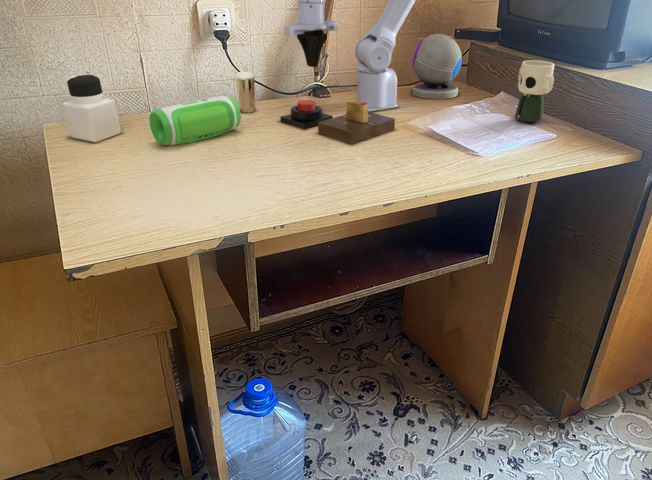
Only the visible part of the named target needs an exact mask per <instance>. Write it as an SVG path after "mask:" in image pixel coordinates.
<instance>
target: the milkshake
mask: <svg viewBox="0 0 652 480" xmlns="http://www.w3.org/2000/svg"><path fill="white" fill-rule="evenodd" d="M234 79H235V84H236V89H237V96H238V101H239V108H240V112H241V113H254V112H255V110H256V105H255V104H256V102H255V101H256V99H255V98H256V97H255V95H256V94H255V92H256V90H255V83H256V82H255V81H256V80H255V79H256V76H255V74H254V73H253V72H252V71H249V64H246V70H245V71H238V72H237V73H235V75H234Z"/></svg>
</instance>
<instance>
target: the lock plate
mask: <svg viewBox="0 0 652 480" xmlns="http://www.w3.org/2000/svg"><path fill="white" fill-rule="evenodd" d="M395 123H396V118H394V117H390V116H386V115H383V114H379V113H376V112H373V111H371V112H368V122H366V123H360V122H357V121H353V120H350V119H346V113H345V114H342V115H338V116H334V117H333V118H331V119H328V120H324V121H321V122H318V126H317V134H318V135H321V136H324V137H327V138H331V139H334V140H337V141H339V142H343V143H346V144H349V145H354V144H357V143H360V142H363V141H366V140H369V139H372V138H375V137H377V136H380V135H384V134H386V133H389V132H392V131H395V127H396V126H395V125H396V124H395Z"/></svg>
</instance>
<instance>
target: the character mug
mask: <svg viewBox="0 0 652 480" xmlns="http://www.w3.org/2000/svg"><path fill="white" fill-rule="evenodd" d="M520 66H521V67H520V68H519V70H518V71H519V72H518V77H517V80H518V83H517V88H518V91H519V92H520V93H522V94H521V96H519V101H518V103H517V107H516V111H515V115H514V118H515V119H517V120H518V117H519V121H521V122H528V123H529V122H530V123H533V122H537V121H541V120H543V115H544V100H545V99H544V96H543V95H546V94H548V93H550V92H551V91H552V90H553V87H554V82H555V77H554V71H555V63H553V62H551V61H546V60H538V59H537V60H536V59H527V60H523V61H522V63H521V65H520Z"/></svg>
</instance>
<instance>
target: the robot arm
mask: <svg viewBox="0 0 652 480" xmlns="http://www.w3.org/2000/svg"><path fill="white" fill-rule="evenodd" d="M415 3H416V0H388V2H387V4H386V6H385V7H384V8H383V9H384V10H383V11H382V13H381V15H380V16H379V19H378V20H377V22H376V24H374V25H373V26H372V27H371V28H370V29H369V30H368V32H367V33H366V35H365V36H364V37H363V38H361V39H360V40H359V41H358V42H357V43H356V46H355V51H354V52H355V53H354V54H355V57H356V59H357V61H358V62H359V64H358V66H357V87H356V90H357V94H356V101H358V102H365V103H367V104H368V112H376V111H377V112H378V111H382V110H388V109H393V108H394V109H395V108H398V107H399V105H398V104H397V96H398V95H397V93H398V77H397V74H396V71H395V70H394V69H392V68H391V67H389V66H390V64H391V62H392V55H393V51H394V49H395V48H396V36H397V35H398V32H399V30H400V29H401V28H402V26H403V24H404V22H405V20H406V19H407V17H408V15H409V13H410V12H411V9H412V7H413V6H414V5H415ZM283 28H284V36H287V37H288V36H289V37H293V36H296V38H297V41H298V42H299V44H300V46H301V48H302V51H303V54H304V58H305V61H306V65H307V67H311V68H316V67H318V64H319V60H320V56H321V52H322V49H323V47H324V44H325V42H326V41H327V40H328V34H327V33H326V32H330V31H331V32H332V31H333V32H336V31H338V21H336V20H325V0H298V22H296V23H291V24H285V25H284V27H283Z"/></svg>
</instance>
